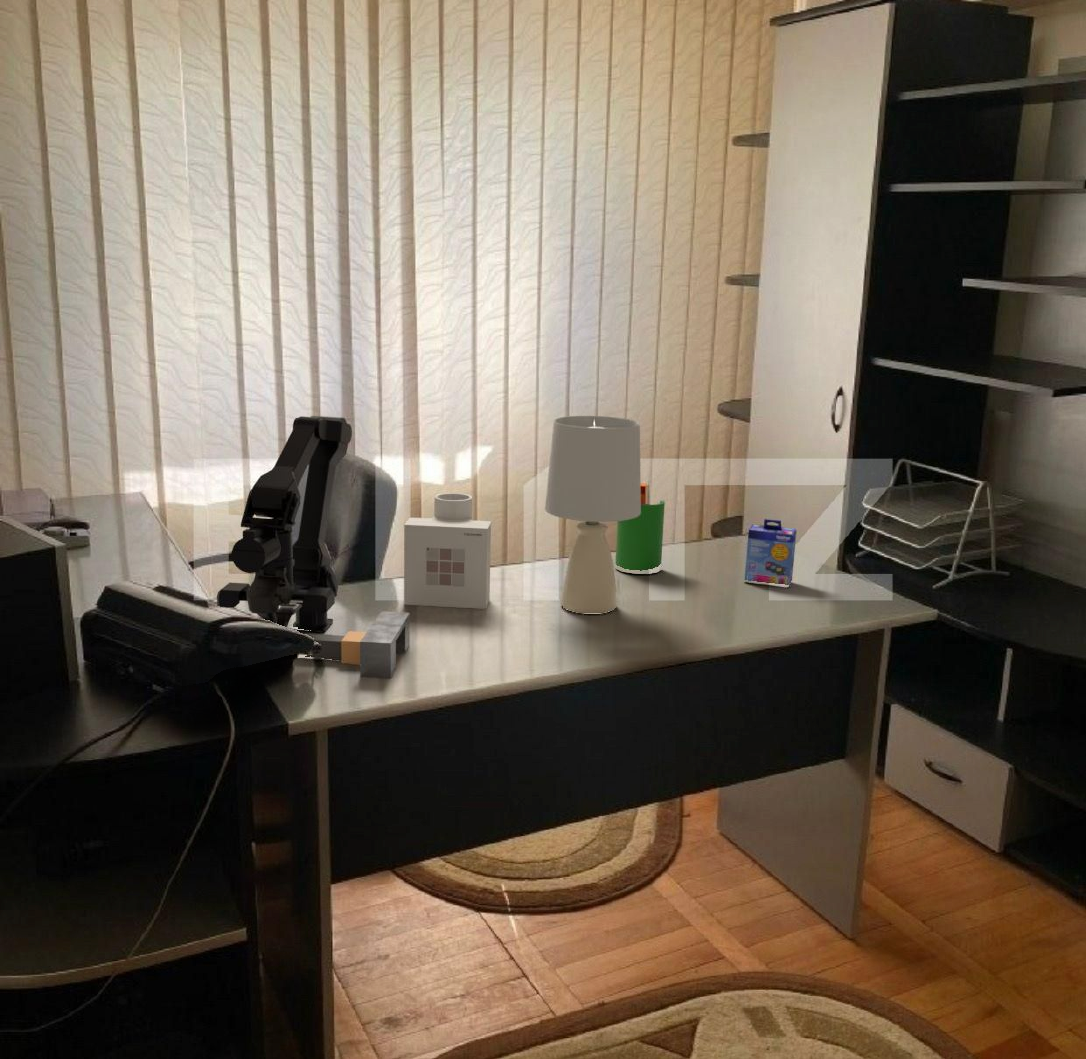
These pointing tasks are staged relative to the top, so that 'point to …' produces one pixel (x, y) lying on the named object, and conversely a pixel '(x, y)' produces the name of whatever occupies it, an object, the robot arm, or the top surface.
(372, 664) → the housing
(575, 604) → the lamp
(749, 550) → the ink cartridge box
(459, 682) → the top surface
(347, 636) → the plug
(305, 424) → the robot arm
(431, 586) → the white square bottle
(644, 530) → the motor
